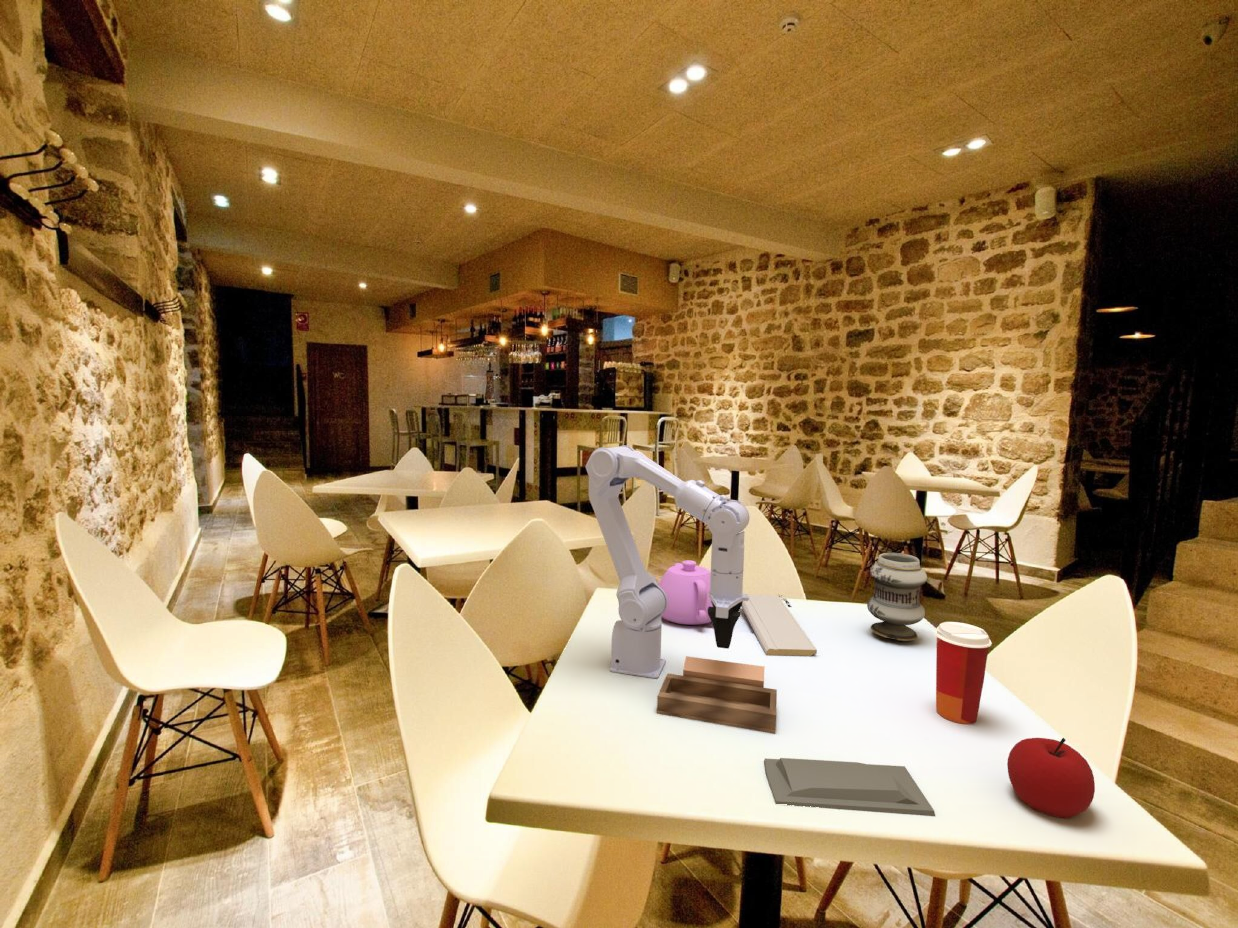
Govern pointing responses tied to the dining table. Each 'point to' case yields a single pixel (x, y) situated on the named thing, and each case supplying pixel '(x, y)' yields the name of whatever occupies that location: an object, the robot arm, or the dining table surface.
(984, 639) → the coffee cup
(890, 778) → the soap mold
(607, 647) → the dining table surface
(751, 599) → the baseboard
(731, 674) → the clay block
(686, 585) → the teapot
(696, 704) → the tray
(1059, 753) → the apple
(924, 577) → the apothecary jar
